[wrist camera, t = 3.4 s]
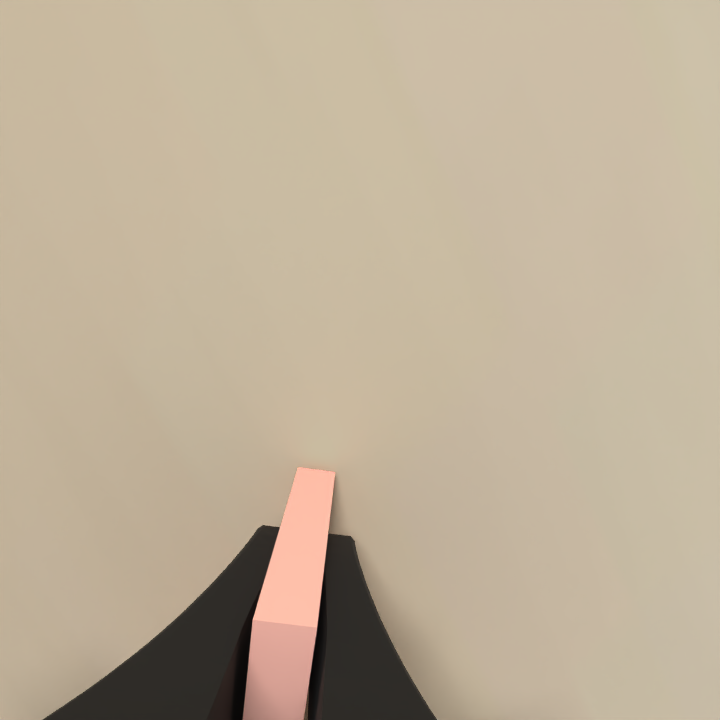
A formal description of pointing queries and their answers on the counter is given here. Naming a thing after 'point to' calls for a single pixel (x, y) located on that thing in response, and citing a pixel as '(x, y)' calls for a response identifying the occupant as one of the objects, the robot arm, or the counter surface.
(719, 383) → the counter surface
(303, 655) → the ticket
